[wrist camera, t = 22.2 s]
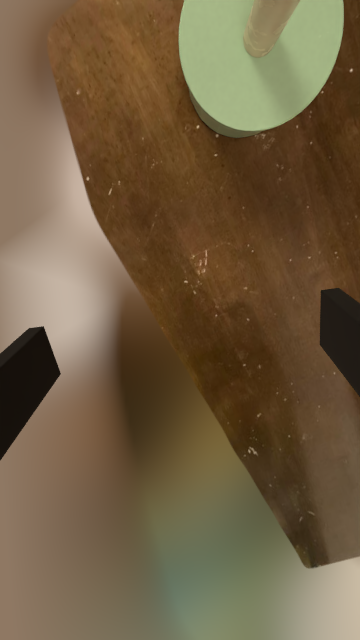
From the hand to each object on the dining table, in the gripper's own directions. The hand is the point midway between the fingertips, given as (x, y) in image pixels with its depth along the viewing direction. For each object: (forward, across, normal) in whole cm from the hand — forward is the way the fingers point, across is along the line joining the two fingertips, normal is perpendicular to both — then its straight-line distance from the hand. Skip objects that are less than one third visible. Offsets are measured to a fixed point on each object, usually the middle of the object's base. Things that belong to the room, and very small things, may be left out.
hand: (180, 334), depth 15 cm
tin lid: (+19, +8, +16) cm, 26 cm away
